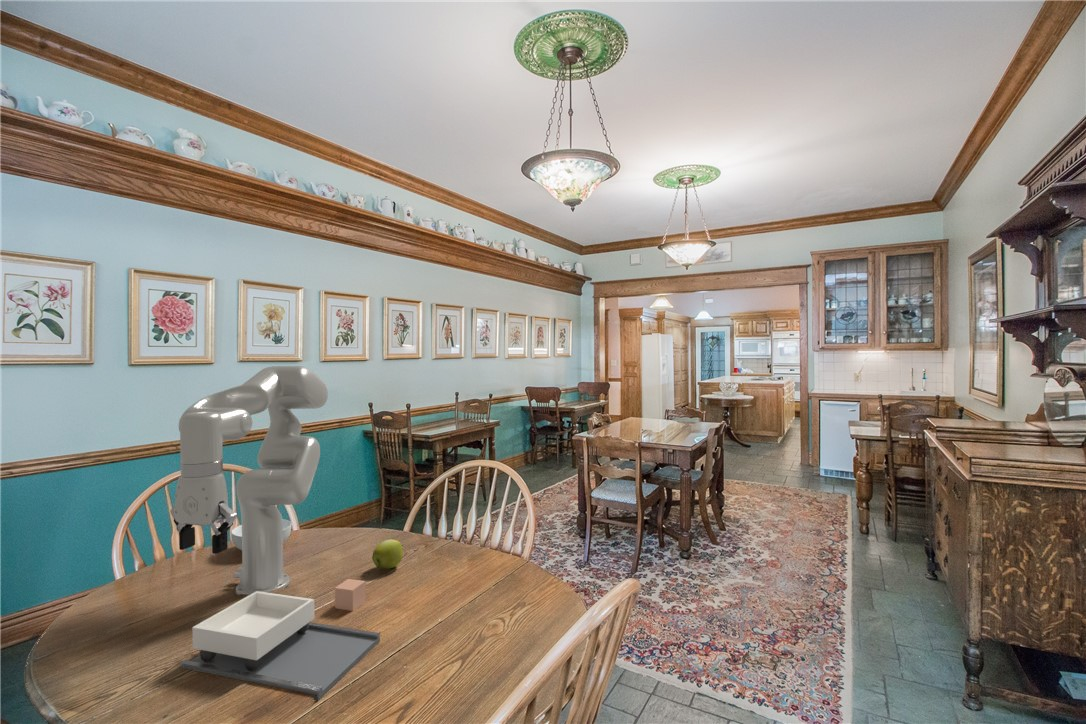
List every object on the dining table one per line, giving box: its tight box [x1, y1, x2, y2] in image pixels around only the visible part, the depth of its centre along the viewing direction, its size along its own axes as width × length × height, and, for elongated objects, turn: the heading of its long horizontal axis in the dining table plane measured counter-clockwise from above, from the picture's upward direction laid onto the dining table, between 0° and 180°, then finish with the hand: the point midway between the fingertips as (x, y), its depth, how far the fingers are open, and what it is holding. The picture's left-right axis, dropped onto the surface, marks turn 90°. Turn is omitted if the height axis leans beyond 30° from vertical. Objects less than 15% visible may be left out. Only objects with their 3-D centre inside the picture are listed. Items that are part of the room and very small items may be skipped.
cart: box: [191, 591, 316, 671], centre depth 104 cm, size 16×16×7 cm
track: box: [179, 621, 381, 701], centre depth 102 cm, size 32×19×2 cm, turn 75°
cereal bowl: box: [230, 518, 293, 551], centre depth 160 cm, size 17×17×7 cm
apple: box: [371, 538, 404, 570], centre depth 144 cm, size 8×9×8 cm
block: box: [334, 578, 367, 612], centre depth 121 cm, size 5×5×6 cm
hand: (203, 549), depth 107 cm, fingers open, 8 cm apart
